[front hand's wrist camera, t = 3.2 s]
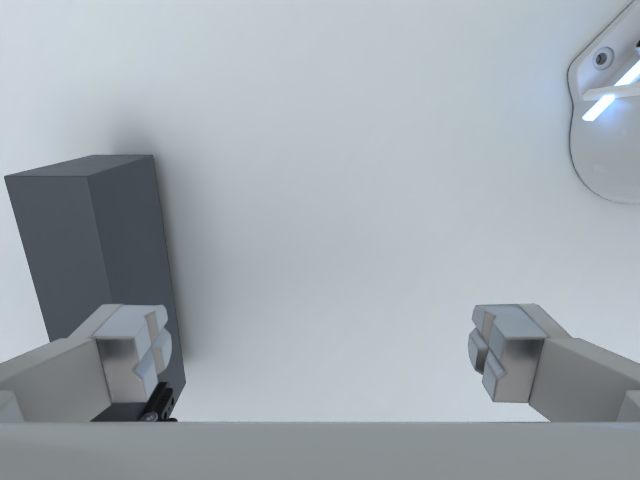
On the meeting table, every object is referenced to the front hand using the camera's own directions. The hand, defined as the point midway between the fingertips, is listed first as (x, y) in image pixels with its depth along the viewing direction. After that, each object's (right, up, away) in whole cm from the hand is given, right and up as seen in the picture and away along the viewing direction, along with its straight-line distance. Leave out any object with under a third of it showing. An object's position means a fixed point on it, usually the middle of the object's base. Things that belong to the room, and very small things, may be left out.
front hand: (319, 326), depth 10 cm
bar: (-16, -2, +26) cm, 30 cm away
